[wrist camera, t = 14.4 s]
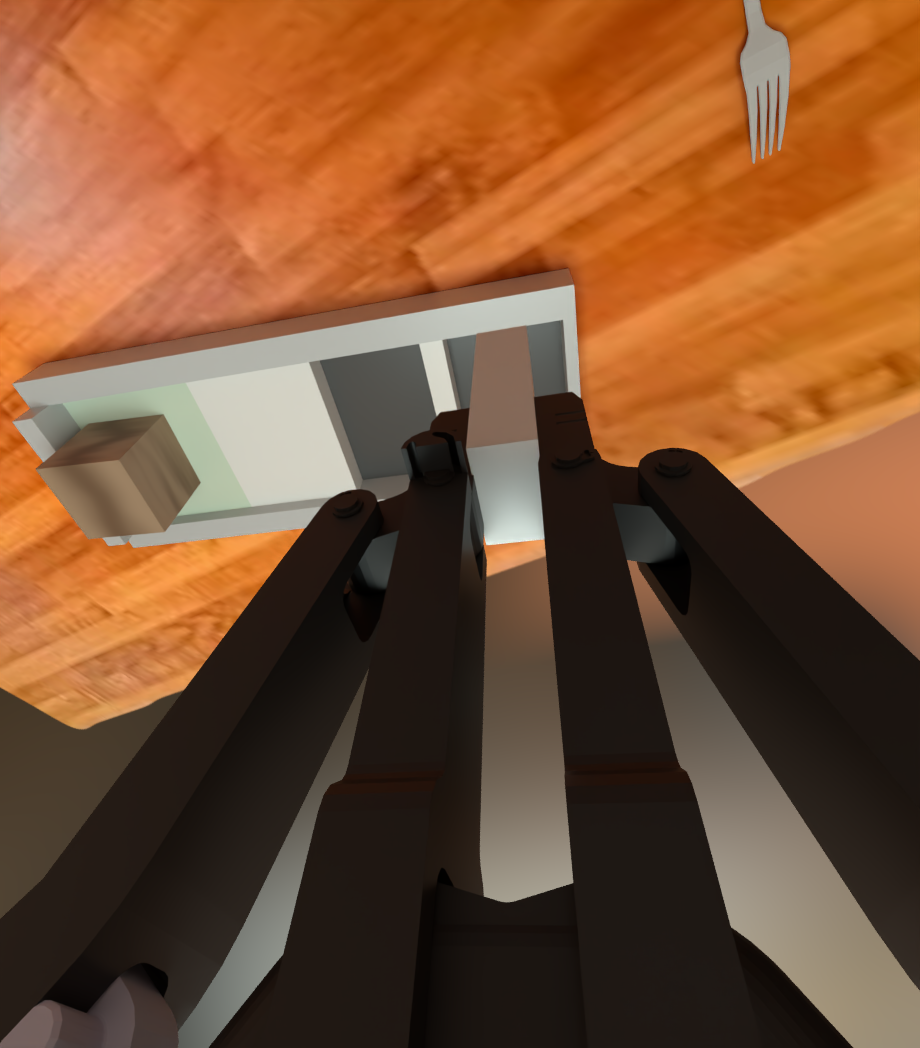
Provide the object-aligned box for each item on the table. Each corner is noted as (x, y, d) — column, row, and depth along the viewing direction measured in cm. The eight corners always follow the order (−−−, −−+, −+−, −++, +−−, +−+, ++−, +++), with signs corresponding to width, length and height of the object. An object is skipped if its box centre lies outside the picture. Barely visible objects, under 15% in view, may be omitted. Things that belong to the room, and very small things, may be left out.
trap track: (568, 268, 45) (577, 295, 40) (581, 469, 58) (589, 511, 52) (43, 363, 53) (-8, 396, 48) (153, 522, 66) (122, 563, 60)
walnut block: (163, 414, 53) (118, 459, 47) (200, 482, 58) (164, 532, 52) (88, 423, 54) (35, 469, 48) (131, 489, 59) (88, 538, 53)
